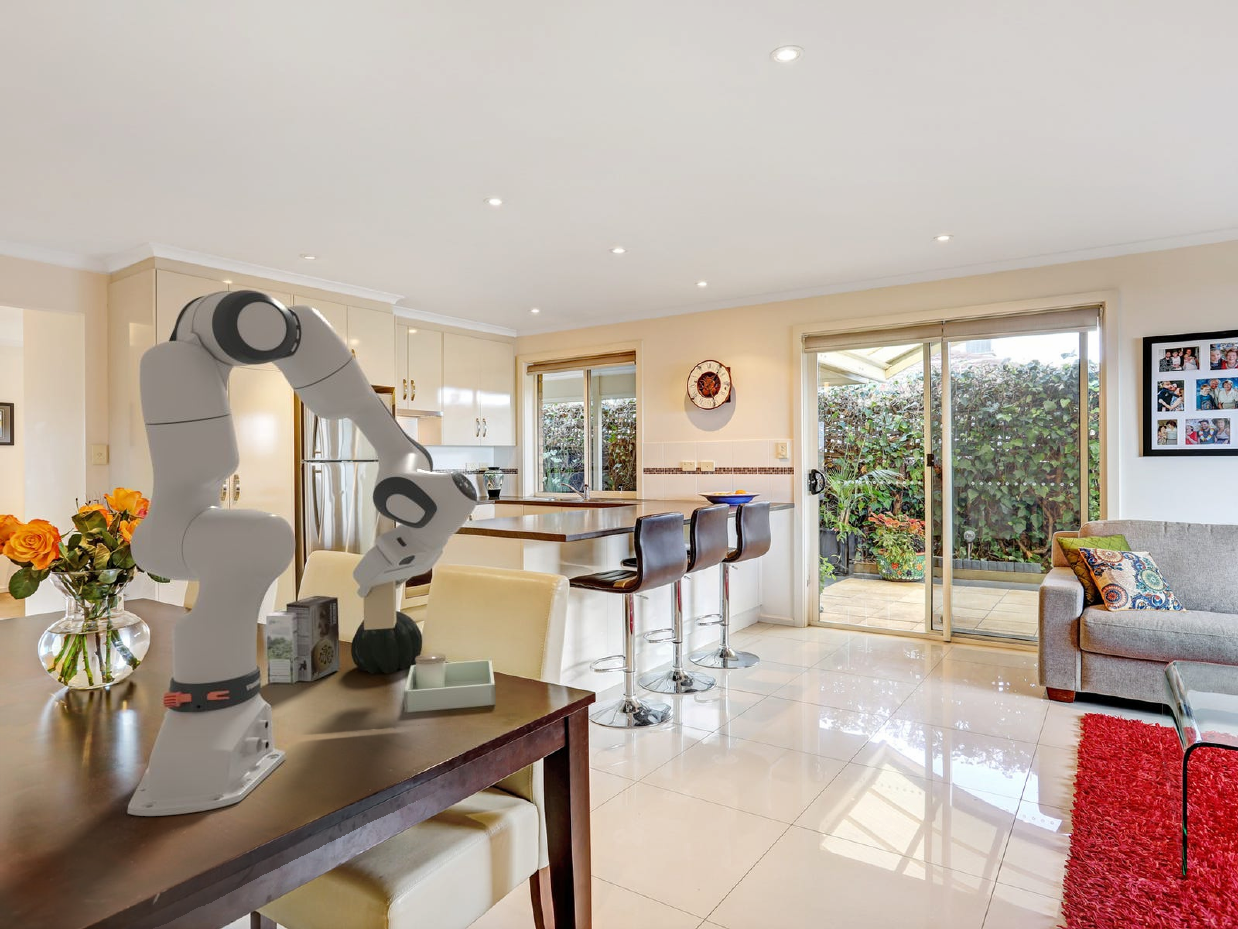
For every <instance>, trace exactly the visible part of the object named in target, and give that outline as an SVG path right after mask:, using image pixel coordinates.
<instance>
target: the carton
mask: <svg viewBox="0 0 1238 929" xmlns="http://www.w3.org/2000/svg"><path fill="white" fill-rule="evenodd" d="M371 591H372V592H371V593H370V594H369V595H368V596H367V597H363V620H364V630H370V629H386V628H394V627H395V624H396V611H397V589H396V581H392V582H388V583H384V584H380V585H376V586H374V587H371Z"/></svg>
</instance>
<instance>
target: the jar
mask: <svg viewBox="0 0 1238 929" xmlns="http://www.w3.org/2000/svg"><path fill="white" fill-rule="evenodd" d="M445 663H446V654H444V653H437V652H431V653H430V652H429V653H423V654H420V655H419V656H417V657H416V658H415V665H416V690H419V689H432V688H444V687H446V686H445Z"/></svg>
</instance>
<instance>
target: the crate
mask: <svg viewBox="0 0 1238 929" xmlns="http://www.w3.org/2000/svg"><path fill="white" fill-rule="evenodd" d="M445 686H446V687H444V688H432V689H419V690H416V664H410V668H409V671H408V676H407V680H406V684H405V687H404V691H403V692H404V695H403V696H404V697H403V698H404V703H403V704H404V713H415V712H416V713H417V712H429V711H437V710H450V709H451V710H452V709H464V708H474V707H484V706H496V684H495V676H494V669H493V661H492V659H481V660H469V661H467V660H465V661H455V662H453V661H452V662H445Z"/></svg>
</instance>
